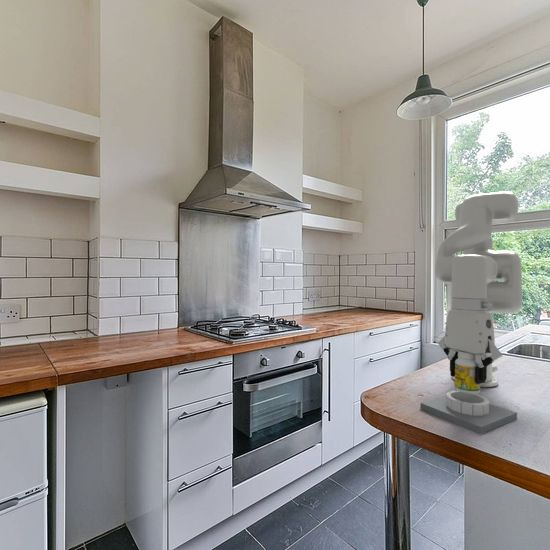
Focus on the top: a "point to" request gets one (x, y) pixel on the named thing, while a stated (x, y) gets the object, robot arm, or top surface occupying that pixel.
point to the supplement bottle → (466, 373)
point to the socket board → (469, 419)
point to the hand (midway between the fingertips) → (467, 378)
